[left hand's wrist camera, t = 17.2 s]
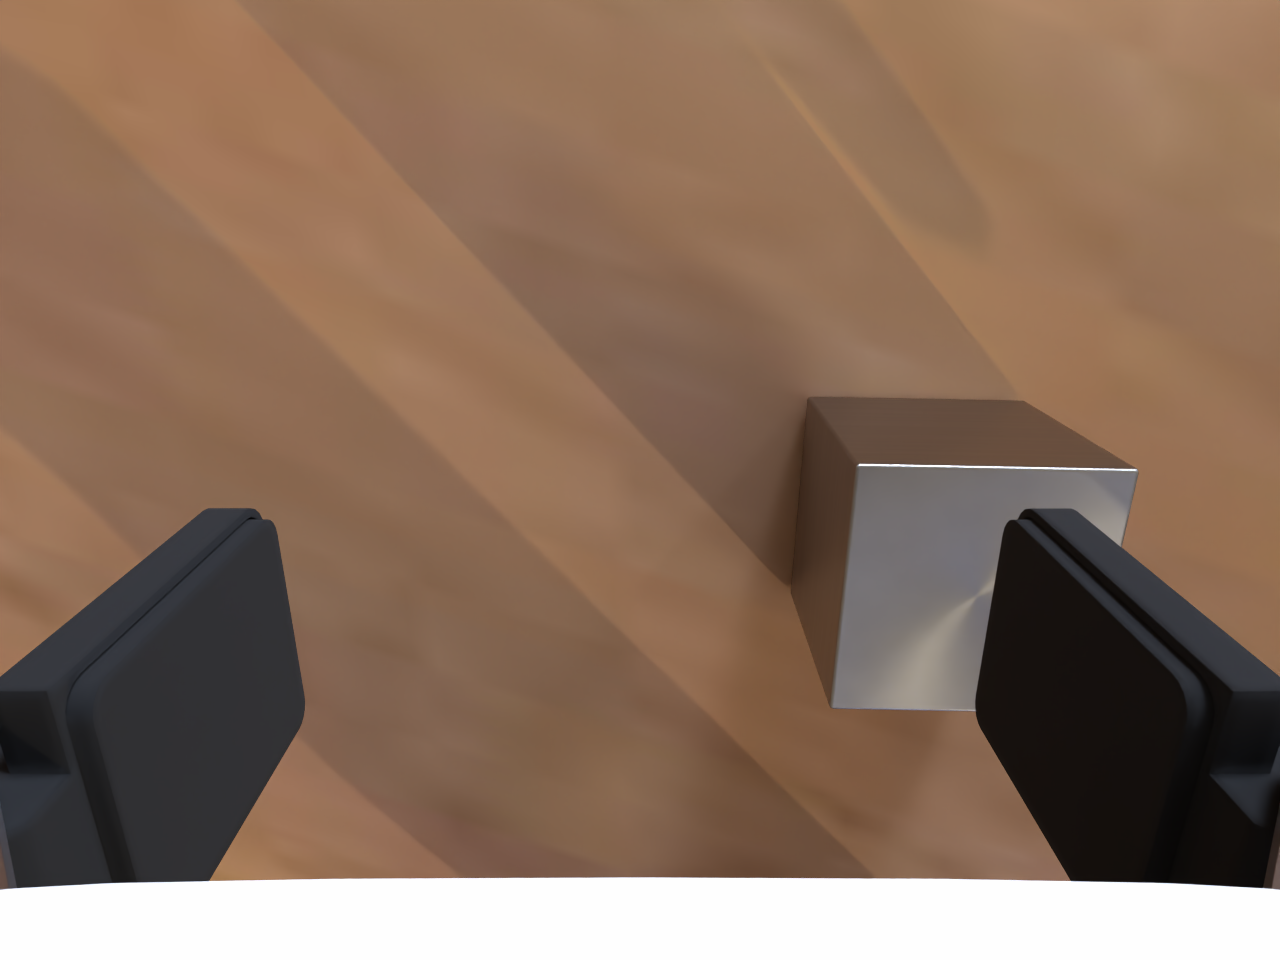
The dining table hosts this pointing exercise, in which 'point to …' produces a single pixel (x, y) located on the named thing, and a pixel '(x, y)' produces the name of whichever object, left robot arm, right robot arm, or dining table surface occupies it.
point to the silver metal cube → (925, 535)
